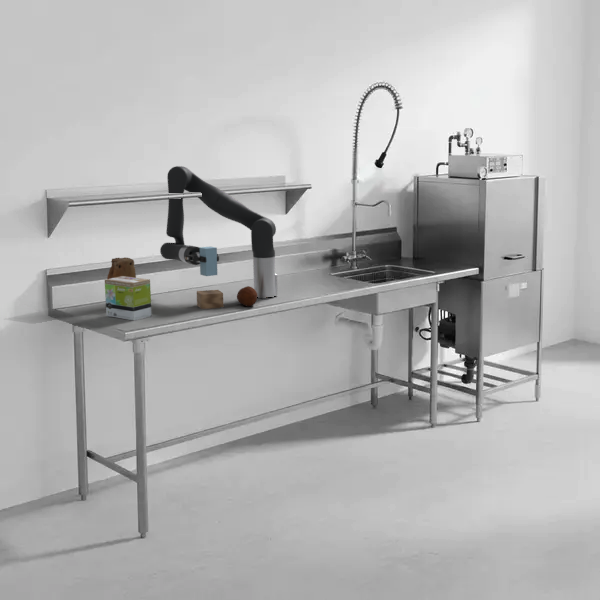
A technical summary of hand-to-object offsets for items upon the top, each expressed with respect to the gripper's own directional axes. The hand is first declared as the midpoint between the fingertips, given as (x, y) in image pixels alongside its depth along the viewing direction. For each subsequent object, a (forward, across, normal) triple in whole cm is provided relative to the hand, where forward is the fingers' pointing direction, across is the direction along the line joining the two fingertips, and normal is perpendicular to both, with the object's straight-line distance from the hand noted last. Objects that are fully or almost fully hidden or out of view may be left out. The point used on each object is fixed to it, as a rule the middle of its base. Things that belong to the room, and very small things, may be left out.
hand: (211, 259), depth 354 cm
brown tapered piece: (-23, -29, +20) cm, 42 cm away
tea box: (-4, -35, +20) cm, 40 cm away
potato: (+6, +13, +20) cm, 24 cm away
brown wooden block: (-2, 0, +20) cm, 20 cm away
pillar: (-3, 0, +7) cm, 7 cm away
